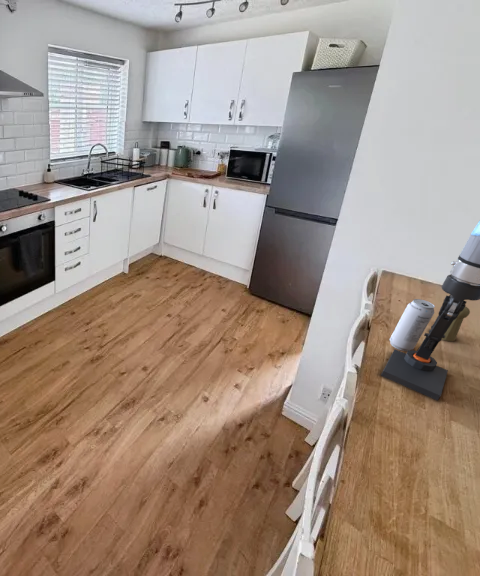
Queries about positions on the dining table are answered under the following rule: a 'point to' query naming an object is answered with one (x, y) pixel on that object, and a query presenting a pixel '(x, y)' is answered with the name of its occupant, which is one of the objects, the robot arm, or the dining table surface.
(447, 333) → the cork
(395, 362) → the scale
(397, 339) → the energy drink can
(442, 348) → the dining table surface
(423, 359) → the button
